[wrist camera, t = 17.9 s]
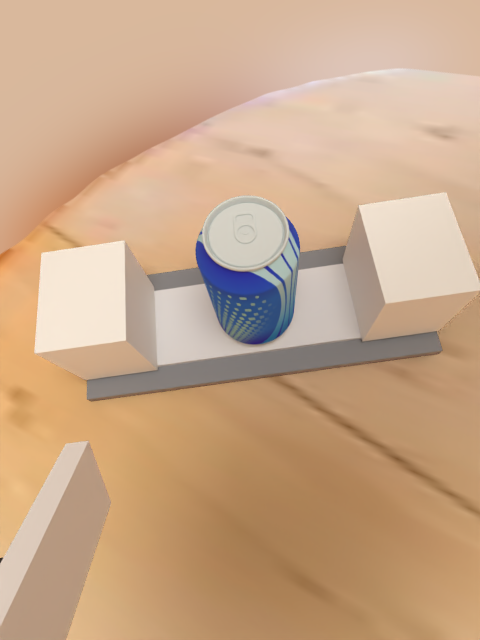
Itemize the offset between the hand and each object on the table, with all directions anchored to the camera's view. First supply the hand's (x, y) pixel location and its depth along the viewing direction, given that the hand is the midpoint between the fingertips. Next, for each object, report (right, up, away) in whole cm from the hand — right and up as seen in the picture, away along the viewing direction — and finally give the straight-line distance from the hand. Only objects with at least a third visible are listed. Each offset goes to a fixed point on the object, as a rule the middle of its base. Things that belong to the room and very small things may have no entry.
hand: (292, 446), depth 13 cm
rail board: (0, +4, +34) cm, 34 cm away
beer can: (0, +5, +32) cm, 33 cm away
